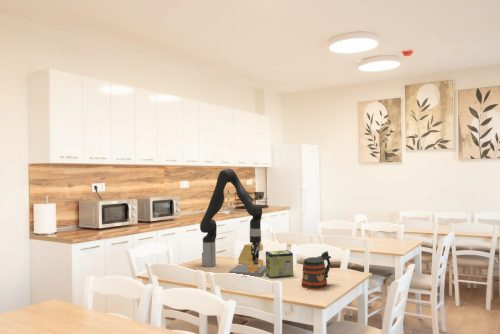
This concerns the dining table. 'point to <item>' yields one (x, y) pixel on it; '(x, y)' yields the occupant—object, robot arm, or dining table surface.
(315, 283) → the beer stein
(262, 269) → the subfloor board
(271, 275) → the protein box
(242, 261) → the tan lumpy shape
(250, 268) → the stud finder
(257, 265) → the awl
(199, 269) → the dining table surface
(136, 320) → the dining table surface
